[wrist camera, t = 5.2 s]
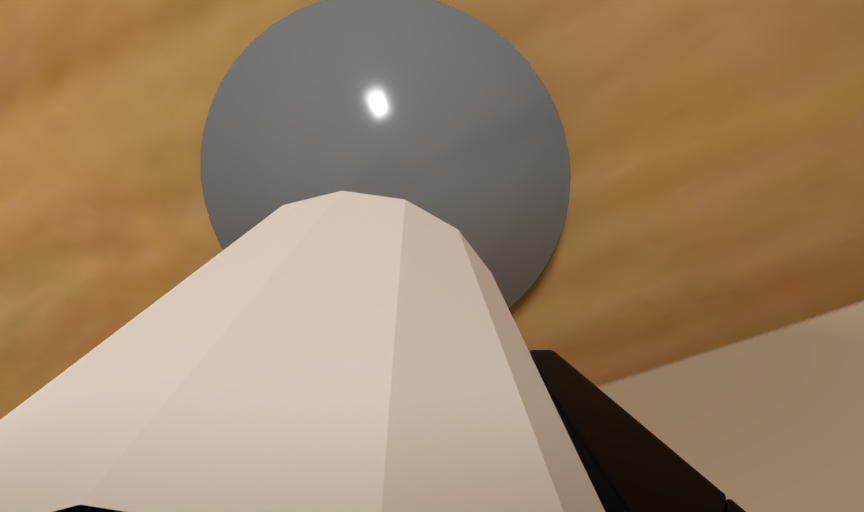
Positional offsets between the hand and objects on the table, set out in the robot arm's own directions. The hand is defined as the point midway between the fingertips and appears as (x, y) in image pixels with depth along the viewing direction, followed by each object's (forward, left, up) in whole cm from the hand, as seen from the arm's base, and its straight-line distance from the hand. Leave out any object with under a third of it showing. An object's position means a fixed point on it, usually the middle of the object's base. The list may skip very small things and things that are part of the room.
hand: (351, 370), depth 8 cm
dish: (0, 0, -10) cm, 10 cm away
